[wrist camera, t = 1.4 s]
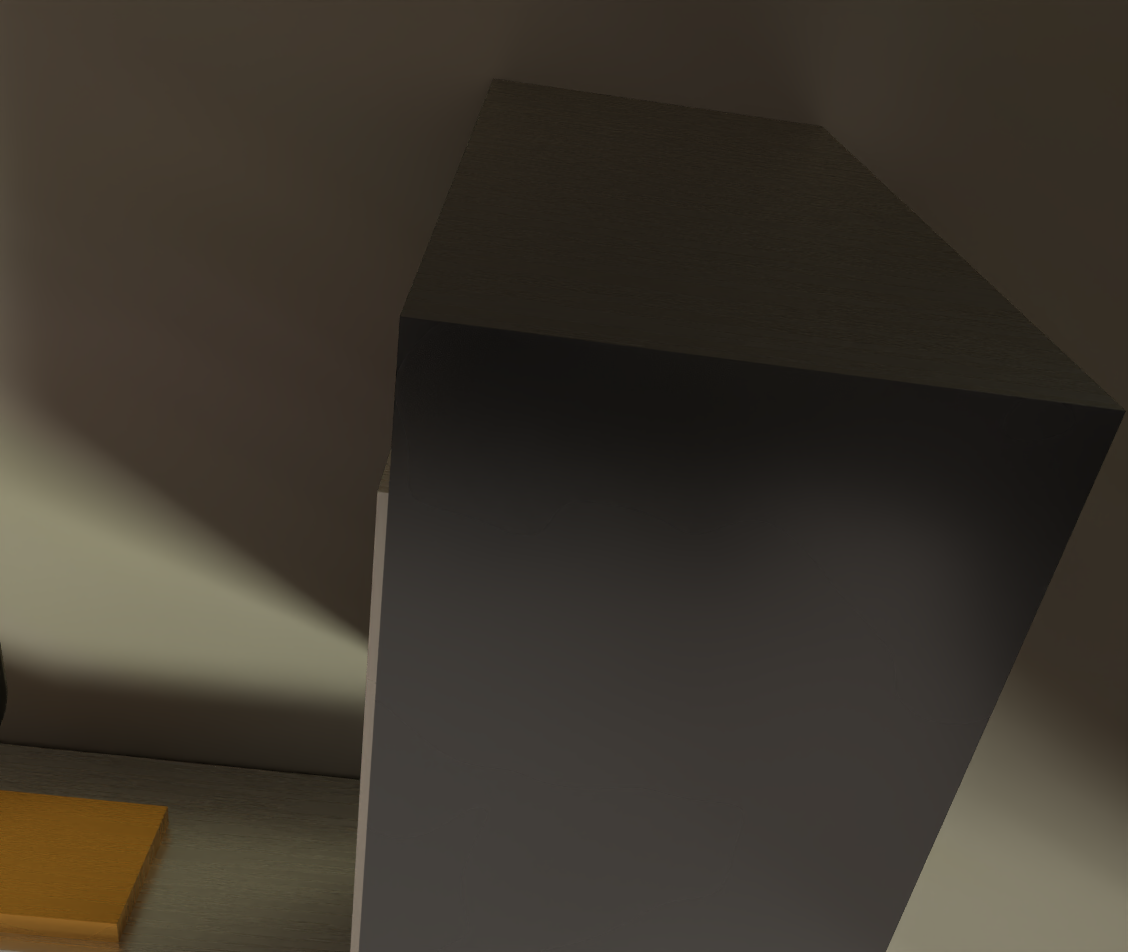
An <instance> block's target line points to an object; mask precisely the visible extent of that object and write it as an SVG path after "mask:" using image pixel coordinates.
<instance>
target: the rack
mask: <svg viewBox="0 0 1128 952" xmlns="http://www.w3.org/2000/svg"><path fill="white" fill-rule="evenodd" d="M359 796H360V780H357V779H347V778H337V777H327V776H317V775H307V774H297V773H288V772H278V771H268V770H258V769H248V768H238V767H228V766H218V765H208V764H199V763H189V762H179V761H169V760H159V759H149V758H139V757H129V756H120V755H110V754H100V753H90V752H80V751H70V750H60V749H50V748H40V747H31V746H21V745H11V744H1V743H0V952H350V948H351V931H352V914H353V898H354V881H355V864H356V847H357V830H358V813H359Z"/></svg>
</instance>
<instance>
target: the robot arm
mask: <svg viewBox="0 0 1128 952" xmlns="http://www.w3.org/2000/svg"><path fill="white" fill-rule="evenodd" d="M6 703H7V682H6V675H5V669H4V663H3V657H2V650H1V644H0V725H1V722H2V720H3V716H4V713H5V709H6Z"/></svg>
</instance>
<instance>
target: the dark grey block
mask: <svg viewBox="0 0 1128 952" xmlns="http://www.w3.org/2000/svg"><path fill="white" fill-rule="evenodd" d="M1125 412H1126V411H1125V410H1124V409H1123V408H1122V407H1121V406H1120V405H1119V404H1118V403H1117V402H1116V401H1114V400H1113V399H1112V398H1111V397H1110V396H1109V395H1108V394H1107V393H1106V392H1105V391H1104V390H1103V389H1102V388H1101V387H1100V386H1098V385H1097V384H1096V383H1095V382H1094V381H1093V380H1092V379H1091V378H1090V377H1089V376H1088V375H1087V374H1086V373H1085V372H1084V371H1082V370H1081V369H1080V368H1079V367H1078V366H1077V365H1076V364H1075V363H1074V362H1073V361H1072V360H1071V359H1070V358H1069V357H1067V356H1066V355H1065V354H1064V353H1063V352H1062V351H1061V350H1060V349H1059V348H1058V347H1057V346H1056V345H1055V344H1054V343H1053V342H1051V341H1050V340H1049V339H1048V338H1047V337H1046V336H1045V335H1044V334H1043V333H1042V332H1041V331H1040V330H1039V329H1038V328H1037V327H1035V326H1034V325H1033V324H1032V323H1031V322H1030V321H1029V320H1028V319H1027V318H1026V317H1025V316H1024V315H1023V314H1022V313H1020V312H1019V311H1018V310H1017V309H1016V308H1015V307H1014V306H1013V305H1012V304H1011V303H1010V302H1009V301H1008V300H1007V299H1006V298H1004V297H1003V296H1002V295H1001V294H1000V293H999V292H998V291H997V290H996V289H995V288H994V287H993V286H992V285H991V284H990V283H988V282H987V281H986V280H985V279H984V278H983V277H982V276H981V275H980V274H979V273H978V272H977V271H976V270H975V269H973V268H972V267H971V266H970V265H969V264H968V263H967V262H966V261H965V260H964V259H963V258H962V257H961V256H960V255H959V254H957V253H956V252H955V251H954V250H953V249H952V248H951V247H950V246H949V245H948V244H947V243H946V242H945V241H944V240H943V239H941V238H940V237H939V236H938V235H937V234H936V233H935V232H934V231H933V230H932V229H931V228H930V227H929V226H928V225H927V224H925V223H924V222H923V221H922V220H921V219H920V218H919V217H918V216H917V215H916V214H915V213H914V212H913V211H912V210H910V209H909V208H908V207H907V206H906V205H905V204H904V203H903V202H902V201H901V200H900V199H899V198H898V197H897V196H896V195H894V194H893V193H892V192H891V191H890V190H889V189H888V188H887V187H886V186H885V185H884V184H883V183H882V182H881V181H880V180H878V179H877V178H876V177H875V176H874V175H873V174H872V173H871V172H870V171H869V170H868V169H867V168H866V167H865V166H863V165H862V164H861V163H860V162H859V161H858V160H857V159H856V158H855V157H854V156H853V155H852V154H851V153H850V152H849V151H847V150H846V149H845V148H844V147H843V146H842V145H841V144H840V143H839V142H838V141H837V140H836V139H835V138H834V137H833V136H831V135H830V134H829V133H828V132H827V131H826V130H825V129H824V128H823V127H822V126H815V125H808V124H801V123H794V122H787V121H780V120H774V119H767V118H760V117H753V116H746V115H739V114H732V113H726V112H719V111H712V110H705V109H698V108H691V107H684V106H678V105H671V104H664V103H657V102H650V101H643V100H637V99H630V98H623V97H616V96H609V95H602V94H595V93H589V92H582V91H575V90H568V89H561V88H554V87H547V86H541V85H534V84H527V83H520V82H513V81H506V80H499V79H493V81H492V84H491V86H490V89H489V91H488V94H487V96H486V99H485V101H484V104H483V106H482V109H481V112H480V114H479V117H478V119H477V122H476V124H475V127H474V129H473V132H472V134H471V137H470V140H469V142H468V145H467V147H466V150H465V152H464V155H463V157H462V160H461V162H460V165H459V167H458V170H457V173H456V175H455V178H454V180H453V183H452V185H451V188H450V190H449V193H448V195H447V198H446V201H445V203H444V206H443V208H442V211H441V213H440V216H439V218H438V221H437V223H436V226H435V228H434V231H433V234H432V236H431V239H430V241H429V244H428V246H427V249H426V251H425V254H424V256H423V259H422V262H421V264H420V267H419V269H418V272H417V274H416V277H415V279H414V282H413V284H412V287H411V289H410V292H409V295H408V297H407V300H406V302H405V305H404V307H403V310H402V312H401V315H400V324H399V339H398V355H397V370H396V385H395V401H394V416H393V432H392V447H391V451H390V454H389V457H388V460H387V463H386V466H385V469H384V473H383V476H382V479H381V482H380V485H379V488H378V492H377V508H376V525H375V542H374V559H373V576H372V593H371V610H370V627H369V644H368V661H367V677H366V694H365V711H364V728H363V745H362V762H361V779H360V796H359V813H358V830H357V847H356V864H355V881H354V898H353V914H352V931H351V948H350V952H886V950H887V948H888V945H889V943H890V941H891V939H892V936H893V934H894V932H895V930H896V927H897V925H898V923H899V921H900V918H901V916H902V914H903V912H904V909H905V907H906V905H907V903H908V900H909V898H910V896H911V894H912V891H913V889H914V887H915V885H916V882H917V880H918V878H919V876H920V873H921V871H922V869H923V867H924V864H925V862H926V860H927V858H928V855H929V853H930V851H931V849H932V846H933V844H934V842H935V840H936V837H937V835H938V833H939V831H940V828H941V826H942V824H943V822H944V819H945V817H946V815H947V813H948V810H949V808H950V806H951V804H952V801H953V799H954V797H955V795H956V792H957V790H958V788H959V786H960V783H961V781H962V779H963V777H964V774H965V772H966V770H967V768H968V765H969V763H970V761H971V759H972V756H973V754H974V752H975V750H976V747H977V745H978V743H979V740H980V738H981V736H982V734H983V731H984V729H985V727H986V725H987V722H988V720H989V718H990V716H991V713H992V711H993V709H994V707H995V704H996V702H997V700H998V698H999V695H1000V693H1001V691H1002V689H1003V686H1004V684H1005V682H1006V680H1007V677H1008V675H1009V673H1010V671H1011V668H1012V666H1013V664H1014V662H1015V659H1016V657H1017V655H1018V653H1019V650H1020V648H1021V646H1022V644H1023V641H1024V639H1025V637H1026V635H1027V632H1028V630H1029V628H1030V626H1031V623H1032V621H1033V619H1034V617H1035V614H1036V612H1037V610H1038V608H1039V605H1040V603H1041V601H1042V599H1043V596H1044V594H1045V592H1046V590H1047V587H1048V585H1049V583H1050V581H1051V578H1052V576H1053V574H1054V572H1055V569H1056V567H1057V565H1058V563H1059V560H1060V558H1061V556H1062V554H1063V551H1064V549H1065V547H1066V545H1067V542H1068V540H1069V538H1070V536H1071V533H1072V531H1073V529H1074V527H1075V524H1076V522H1077V520H1078V518H1079V515H1080V513H1081V511H1082V509H1083V506H1084V504H1085V502H1086V499H1087V497H1088V495H1089V493H1090V490H1091V488H1092V486H1093V484H1094V481H1095V479H1096V477H1097V475H1098V472H1099V470H1100V468H1101V466H1102V463H1103V461H1104V459H1105V457H1106V454H1107V452H1108V450H1109V448H1110V445H1111V443H1112V441H1113V439H1114V436H1115V434H1116V432H1117V430H1118V427H1119V425H1120V423H1121V421H1122V418H1123V416H1124V414H1125Z"/></svg>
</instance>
